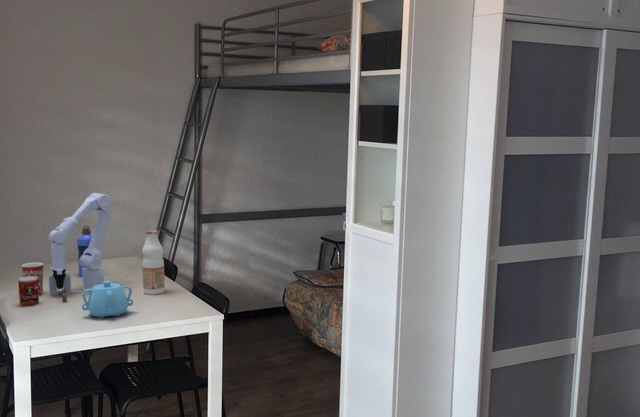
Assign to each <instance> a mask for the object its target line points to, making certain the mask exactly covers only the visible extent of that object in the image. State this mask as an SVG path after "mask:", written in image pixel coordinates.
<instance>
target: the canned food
mask: <svg viewBox="0 0 640 417" xmlns="http://www.w3.org/2000/svg"><path fill="white" fill-rule="evenodd" d="M17 282H18V294H19V295H18V299H19V300H18V301H19V304H20V306H22V307H31V306H36V305H38V304H39V302H40V295H39V291H38V278H37V277H34V276H29V277H23V276H22V277H20V278H19V277H18V280H17Z"/></svg>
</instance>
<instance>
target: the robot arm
mask: <svg viewBox="0 0 640 417" xmlns="http://www.w3.org/2000/svg"><path fill="white" fill-rule="evenodd" d="M112 202H113V201H112V199H111V197H110V196H109V195H108V194H105V193H98V192H92V193H90V194H89V196H88V197H86V198H85V200H84V202H83V203H82V204H81V205H80V206H79V207H78V209H77V210H76V211H75V212H74V213H73V215H72V216H68V217H65V218H63V220H62V222H61V223H60V224H59V225H58V226H56V227H55V229H54V230H53V229H52V231H50V232H49V234H48V237H47V238H48V241H49V242H50V252H51V253H50V254H51V266H50V267H49V270H52V275H53V276H54V278H55V280H56V284H57V290H62V289H64V287H63V285H64V279H65V276H66V274H67V272H66V271H67V263H66V262H67V261H66V244H65V243H66V242H67V240H68V236H69V235H70V234H71V233H72V232H73V231H74V230H75V229H76V228H77V227H78V222H79V221H80V220H82V218H83V217H85V215H87V213H89V212H90V211H92V210H95V211H96V212H97V215H98V217H97V220H96V223H95V226H94V229H93V232H92V233H91V235H92V238H91V241H90V244H89V247H88V248H87V249H86V250H85V251H84V253H83V255H82V256H81V257H80V260H79V262H80V265H81V266H82V273H83V277H82V286H81V289H82V291H83V292H84V291H85V290H86V289H92V288H93V286H95V285H100V284H103V281H105V275H104V274H105V273H104V268H100V267H101V265H102V253H101V252H102V251H101V249H102V246H103V243H104V239H105V237H106V233H107V230H108V227H109V225H110V221H111V219H112V215H113V213H112V212H113V211H112Z"/></svg>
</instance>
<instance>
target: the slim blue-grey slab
mask: <svg viewBox="0 0 640 417" xmlns="http://www.w3.org/2000/svg"><path fill="white" fill-rule="evenodd" d="M48 284H49V287H48V288H49V290H48V291H49V296H50V297H52V296H58V288H57V284H56V280H55V278H54V276H53V274H52V275H48ZM71 284H72V283H71V274H70V273H66V276H65V279H64V285H63V289H66V295H72V285H71Z"/></svg>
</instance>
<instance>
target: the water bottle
mask: <svg viewBox="0 0 640 417" xmlns="http://www.w3.org/2000/svg"><path fill="white" fill-rule="evenodd" d="M81 229H82V230H81V234H82V235H80V236H78V237H76V245H77V251H78V254H77V255H78V256H77V262H78V263H77V266H78V267H77V268H78V277H79V278H83V273H82V266H81V265H80V262H79V260H80V257H81V256H82V255H83V253H84V251H85V250H86V249H87V248H88V247H89V244H90V241H91V238H92V230H91V227H90V226H89V225H84V226H82V227H81Z"/></svg>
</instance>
